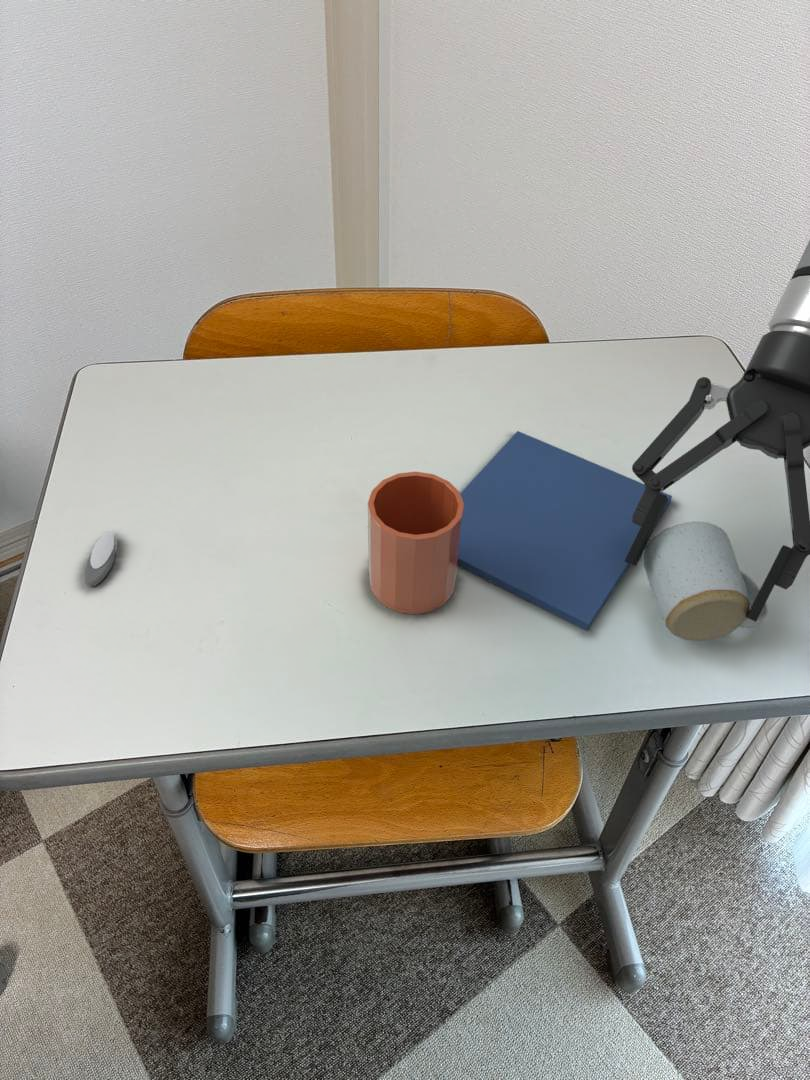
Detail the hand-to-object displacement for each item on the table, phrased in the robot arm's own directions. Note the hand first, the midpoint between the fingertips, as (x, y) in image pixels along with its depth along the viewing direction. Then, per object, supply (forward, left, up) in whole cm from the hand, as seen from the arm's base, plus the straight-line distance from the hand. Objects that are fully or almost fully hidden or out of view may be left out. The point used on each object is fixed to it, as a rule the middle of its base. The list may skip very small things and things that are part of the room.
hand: (688, 590), depth 68 cm
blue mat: (+15, -5, -5) cm, 17 cm away
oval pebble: (+47, +24, -5) cm, 53 cm away
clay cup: (+22, +9, -5) cm, 24 cm away
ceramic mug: (-1, -3, -4) cm, 5 cm away
